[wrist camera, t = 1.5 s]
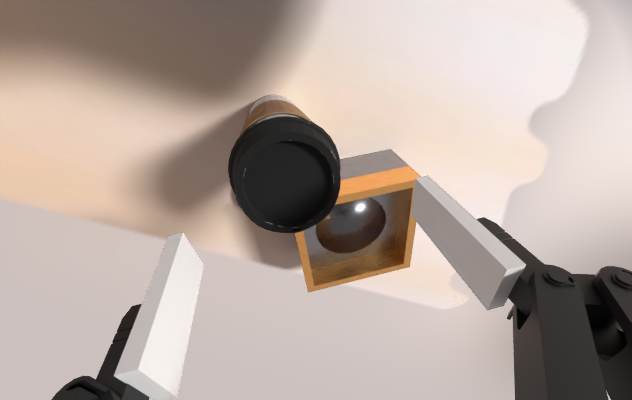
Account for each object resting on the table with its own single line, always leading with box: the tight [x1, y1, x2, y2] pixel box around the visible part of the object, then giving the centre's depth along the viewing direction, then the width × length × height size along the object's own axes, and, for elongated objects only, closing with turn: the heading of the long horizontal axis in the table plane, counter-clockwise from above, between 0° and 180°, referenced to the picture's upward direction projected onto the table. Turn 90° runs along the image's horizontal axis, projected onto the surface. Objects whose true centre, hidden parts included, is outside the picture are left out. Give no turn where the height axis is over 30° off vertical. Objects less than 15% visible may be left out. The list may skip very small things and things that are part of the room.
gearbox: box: [295, 149, 421, 292], centre depth 35 cm, size 15×15×8 cm
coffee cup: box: [228, 95, 341, 233], centre depth 23 cm, size 8×8×15 cm
